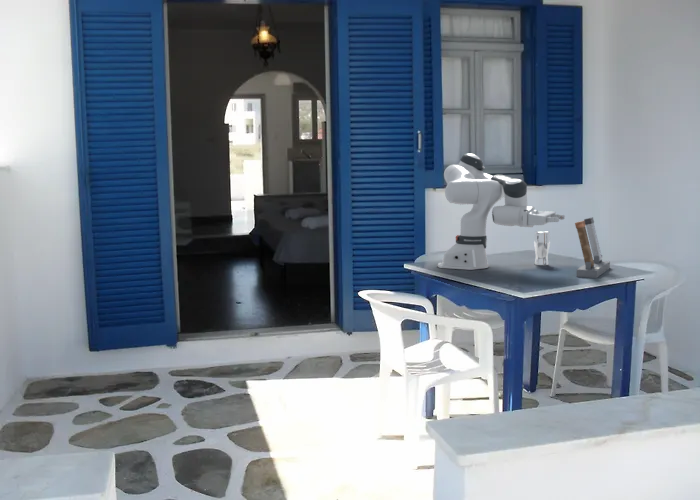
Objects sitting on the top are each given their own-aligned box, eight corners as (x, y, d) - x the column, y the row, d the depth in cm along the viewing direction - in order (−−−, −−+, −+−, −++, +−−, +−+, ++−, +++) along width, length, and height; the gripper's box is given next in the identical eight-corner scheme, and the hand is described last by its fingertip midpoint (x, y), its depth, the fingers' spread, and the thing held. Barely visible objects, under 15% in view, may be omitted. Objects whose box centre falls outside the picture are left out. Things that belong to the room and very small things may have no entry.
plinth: (576, 276, 306) (576, 262, 305) (591, 266, 332) (591, 253, 332) (596, 278, 302) (597, 263, 302) (609, 268, 328) (610, 254, 328)
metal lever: (594, 263, 323) (583, 219, 323) (596, 261, 328) (586, 218, 328) (600, 261, 322) (590, 218, 322) (603, 260, 326) (592, 217, 326)
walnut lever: (585, 268, 307) (574, 223, 307) (588, 267, 312) (577, 221, 312) (592, 267, 306) (581, 221, 306) (595, 265, 311) (584, 220, 311)
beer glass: (549, 265, 336) (550, 232, 334) (533, 265, 337) (534, 232, 335) (548, 263, 343) (549, 231, 341) (533, 263, 344) (534, 230, 342)
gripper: (535, 221, 328) (567, 223, 322) (521, 227, 311) (555, 229, 304) (535, 207, 327) (567, 208, 321) (522, 211, 310) (555, 213, 303)
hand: (561, 218), depth 312 cm, fingers open, 8 cm apart
